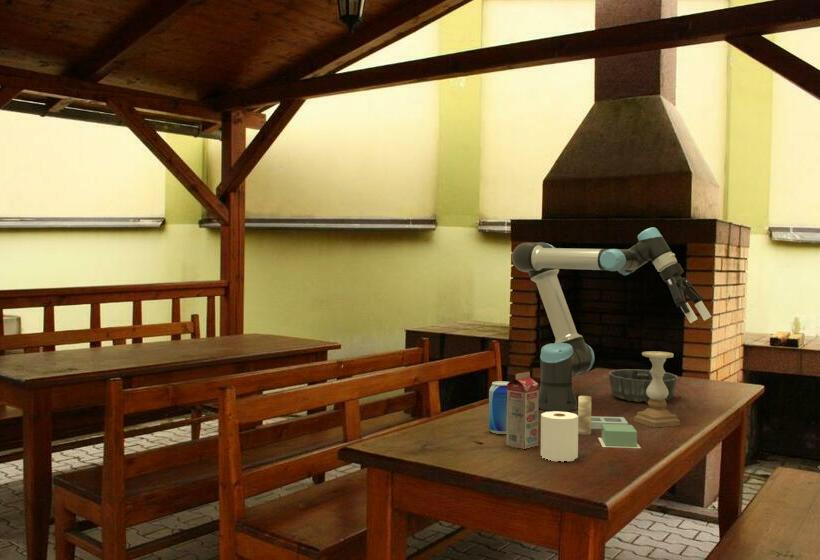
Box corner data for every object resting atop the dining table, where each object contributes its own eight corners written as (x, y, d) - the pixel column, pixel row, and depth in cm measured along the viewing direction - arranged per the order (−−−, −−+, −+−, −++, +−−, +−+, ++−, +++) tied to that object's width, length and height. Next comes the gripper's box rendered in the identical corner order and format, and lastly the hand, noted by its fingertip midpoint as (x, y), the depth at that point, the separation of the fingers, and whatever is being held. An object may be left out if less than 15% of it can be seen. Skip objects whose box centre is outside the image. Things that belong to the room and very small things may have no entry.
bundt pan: (682, 396, 304) (683, 371, 304) (672, 408, 281) (672, 382, 281) (616, 390, 317) (616, 367, 316) (600, 402, 293) (601, 376, 293)
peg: (578, 435, 239) (579, 397, 239) (577, 432, 243) (577, 395, 242) (591, 436, 239) (592, 398, 238) (590, 433, 242) (590, 395, 242)
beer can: (494, 436, 238) (495, 385, 237) (485, 430, 246) (485, 381, 245) (519, 434, 240) (519, 384, 239) (509, 428, 248) (509, 380, 247)
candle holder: (633, 421, 260) (634, 351, 259) (659, 418, 264) (660, 350, 263) (654, 428, 249) (655, 356, 248) (681, 425, 253) (682, 354, 252)
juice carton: (506, 445, 226) (507, 372, 225) (520, 442, 231) (520, 370, 230) (524, 450, 222) (525, 375, 221) (538, 446, 226) (538, 372, 225)
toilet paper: (584, 456, 215) (584, 414, 214) (565, 464, 207) (565, 420, 206) (553, 450, 221) (553, 409, 221) (533, 457, 214) (534, 415, 213)
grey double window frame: (580, 429, 247) (580, 421, 247) (578, 423, 256) (578, 415, 256) (627, 430, 245) (628, 423, 245) (623, 424, 254) (623, 417, 254)
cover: (605, 446, 225) (605, 431, 225) (601, 438, 234) (601, 424, 234) (636, 447, 224) (637, 431, 224) (631, 439, 233) (631, 424, 232)
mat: (602, 448, 224) (602, 446, 224) (597, 438, 235) (597, 437, 235) (640, 449, 223) (640, 448, 223) (634, 440, 234) (634, 438, 234)
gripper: (663, 261, 255) (697, 316, 248) (690, 261, 274) (722, 312, 267) (645, 273, 259) (678, 327, 252) (673, 272, 278) (704, 322, 271)
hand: (701, 320), depth 260 cm, fingers open, 13 cm apart
